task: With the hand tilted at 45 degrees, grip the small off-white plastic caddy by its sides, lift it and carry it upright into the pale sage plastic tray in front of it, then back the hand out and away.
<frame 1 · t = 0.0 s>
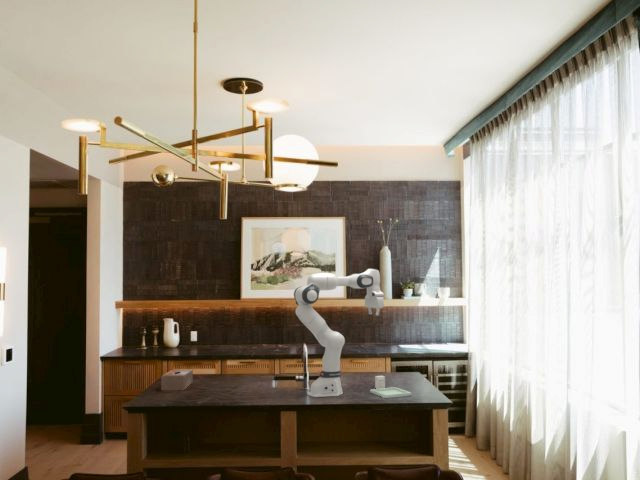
hand: (373, 314, 386), 48 cm above the countertop, fingers open, 8 cm apart
tray: (390, 394, 367), on the countertop
tissue box cover: (177, 388, 397), on the countertop
caddy: (380, 388, 386), on the countertop
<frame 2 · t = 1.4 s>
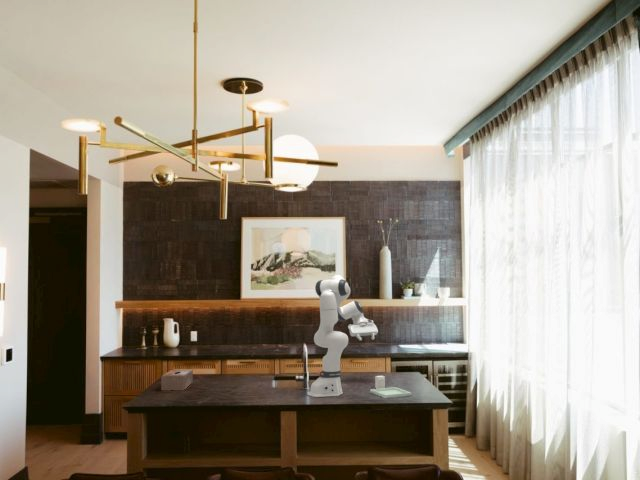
hand: (367, 339, 404), 30 cm above the countertop, fingers open, 8 cm apart
nothing on the countertop moved.
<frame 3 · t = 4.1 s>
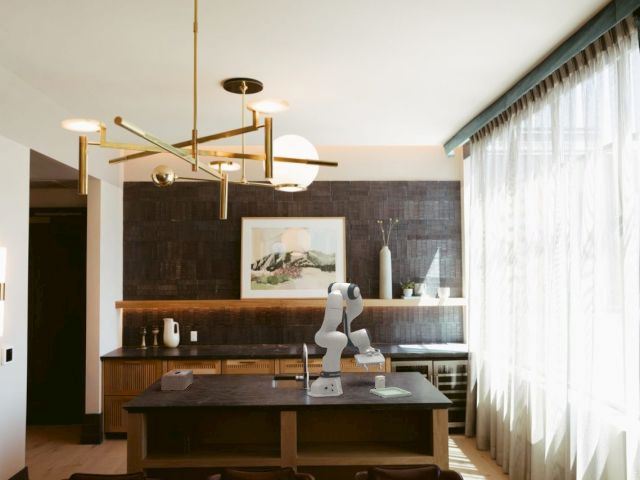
hand: (374, 369, 394), 11 cm above the countertop, fingers open, 8 cm apart
nothing on the countertop moved.
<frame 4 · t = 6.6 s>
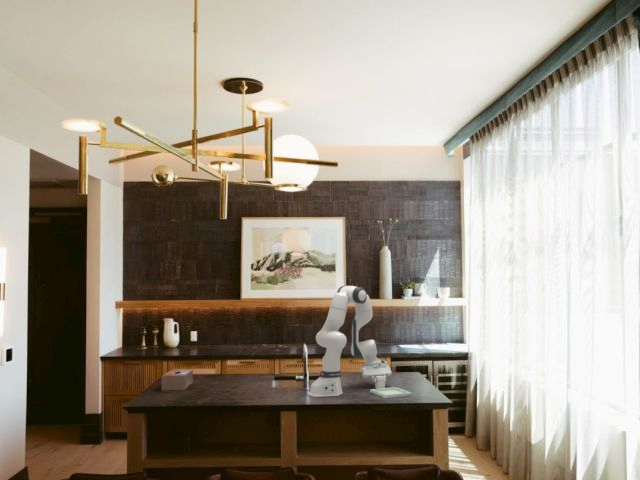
hand: (380, 382, 385), 4 cm above the countertop, fingers closed on caddy, 5 cm apart
caddy: (380, 388, 386), on the countertop, touching gripper
everything else where it was.
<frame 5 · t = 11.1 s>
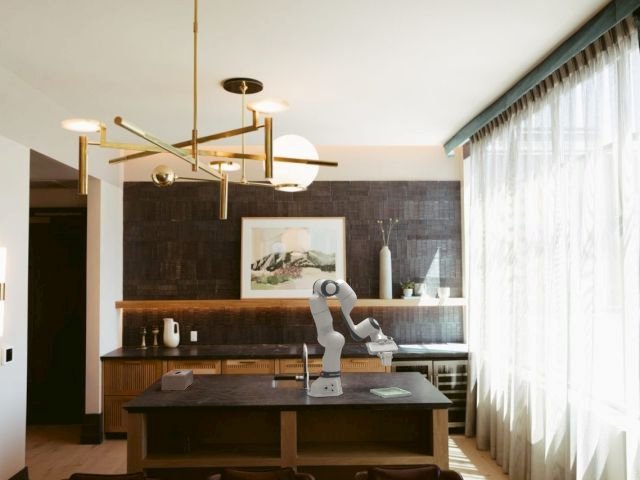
hand: (386, 358, 374), 21 cm above the countertop, fingers closed on caddy, 5 cm apart
caddy: (386, 365, 374), point 17 cm above the countertop, touching gripper
everything else where it was.
when the fingers open (6 cm above the countertop, at t = 15.9 s): caddy drops 1 cm, resting on tray.
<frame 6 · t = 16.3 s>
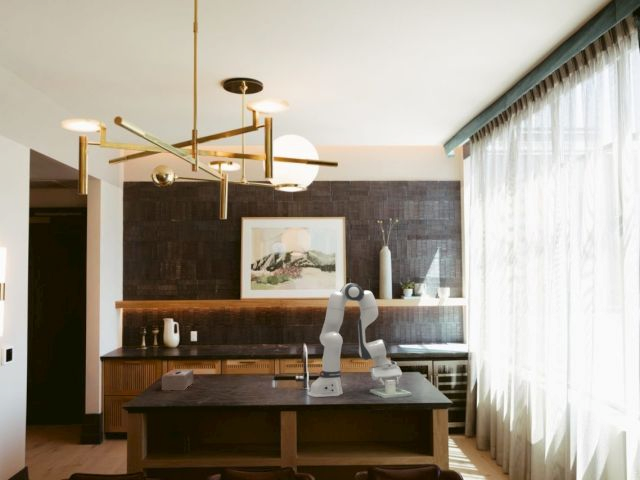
hand: (390, 384, 367), 6 cm above the countertop, fingers open, 8 cm apart
caddy: (390, 393, 367), resting on tray
everything else where it was.
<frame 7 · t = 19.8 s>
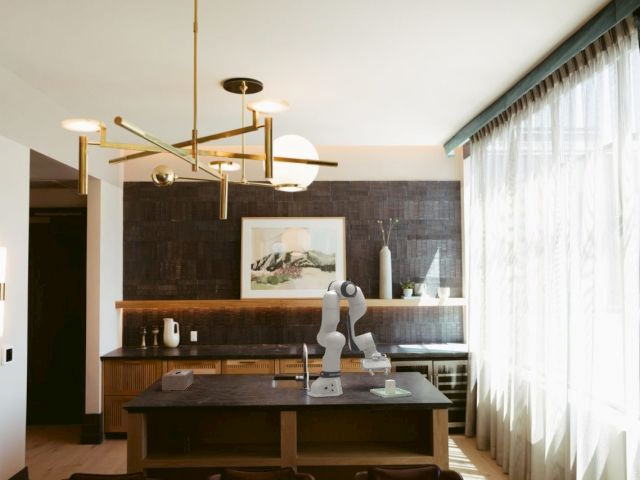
hand: (379, 375, 379), 10 cm above the countertop, fingers open, 8 cm apart
nothing on the countertop moved.
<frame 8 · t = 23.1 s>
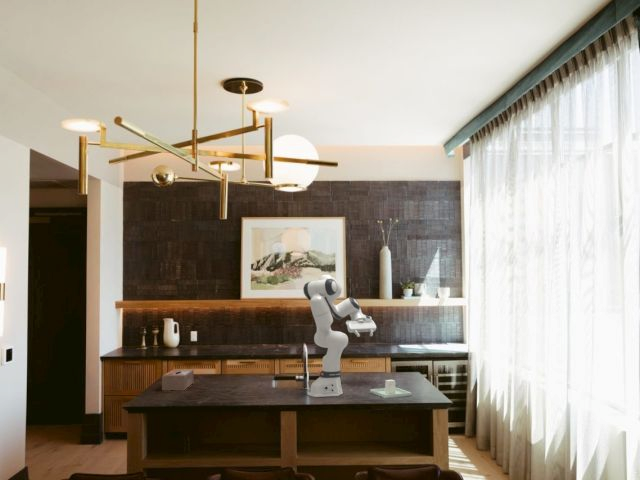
hand: (365, 335, 396), 33 cm above the countertop, fingers open, 8 cm apart
nothing on the countertop moved.
at the end: caddy inside the target area on the tray (0.0 cm from its centre), point 0.5 cm above the tray's base; caddy tilted 0°; the gripper is holding nothing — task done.
